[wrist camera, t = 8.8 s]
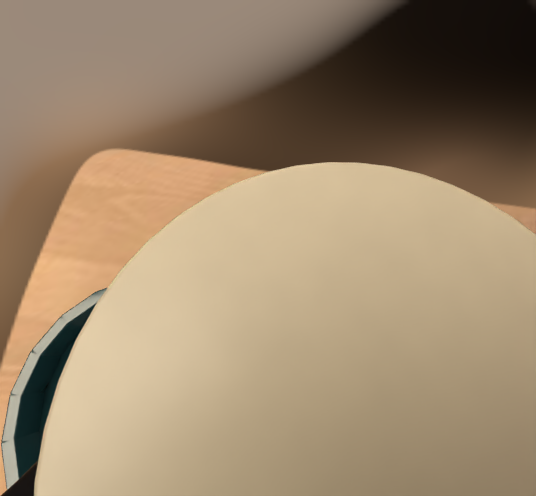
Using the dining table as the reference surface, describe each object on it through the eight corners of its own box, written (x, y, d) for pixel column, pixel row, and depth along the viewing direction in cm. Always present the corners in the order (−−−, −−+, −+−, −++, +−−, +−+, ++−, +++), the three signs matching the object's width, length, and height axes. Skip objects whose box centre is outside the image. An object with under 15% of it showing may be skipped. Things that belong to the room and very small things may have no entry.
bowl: (133, 591, 17) (94, 667, 13) (16, 382, 20) (-46, 388, 16) (316, 412, 20) (334, 426, 16) (193, 255, 23) (181, 232, 19)
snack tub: (282, 477, 13) (547, 1418, 1) (185, 385, 14) (-131, 500, 2) (357, 367, 15) (778, 391, 3) (265, 290, 16) (312, 80, 4)
